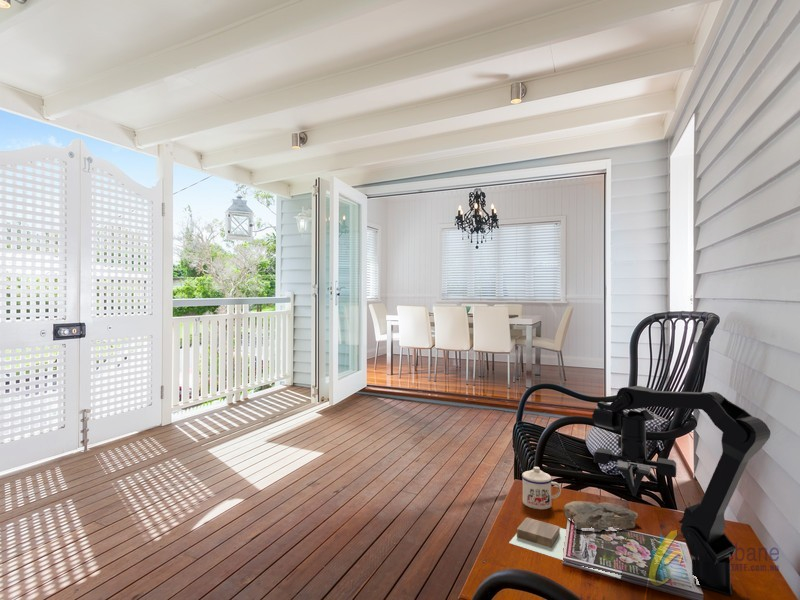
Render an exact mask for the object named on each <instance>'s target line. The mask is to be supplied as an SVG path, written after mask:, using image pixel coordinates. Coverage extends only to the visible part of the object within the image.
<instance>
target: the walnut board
mask: <svg viewBox="0 0 800 600" xmlns="http://www.w3.org/2000/svg"><path fill="white" fill-rule="evenodd" d="M560 528H561V527H560V526H558V525H555V524H552V523H548V522H545V521H541V520H537V519H533V518H531V517H526V518H525V519H524V520H523V521H522V522H521V523H520V525H519V526H518V527H517V528H516V533H517V537H518V538H521V539H524V540H528V541H531V542H534V543H537V544H541V545H544V546H547V547H550V548H552V546H553V545H554V543H555V542H556V540H557V538H558V537H559V535H560Z"/></svg>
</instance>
